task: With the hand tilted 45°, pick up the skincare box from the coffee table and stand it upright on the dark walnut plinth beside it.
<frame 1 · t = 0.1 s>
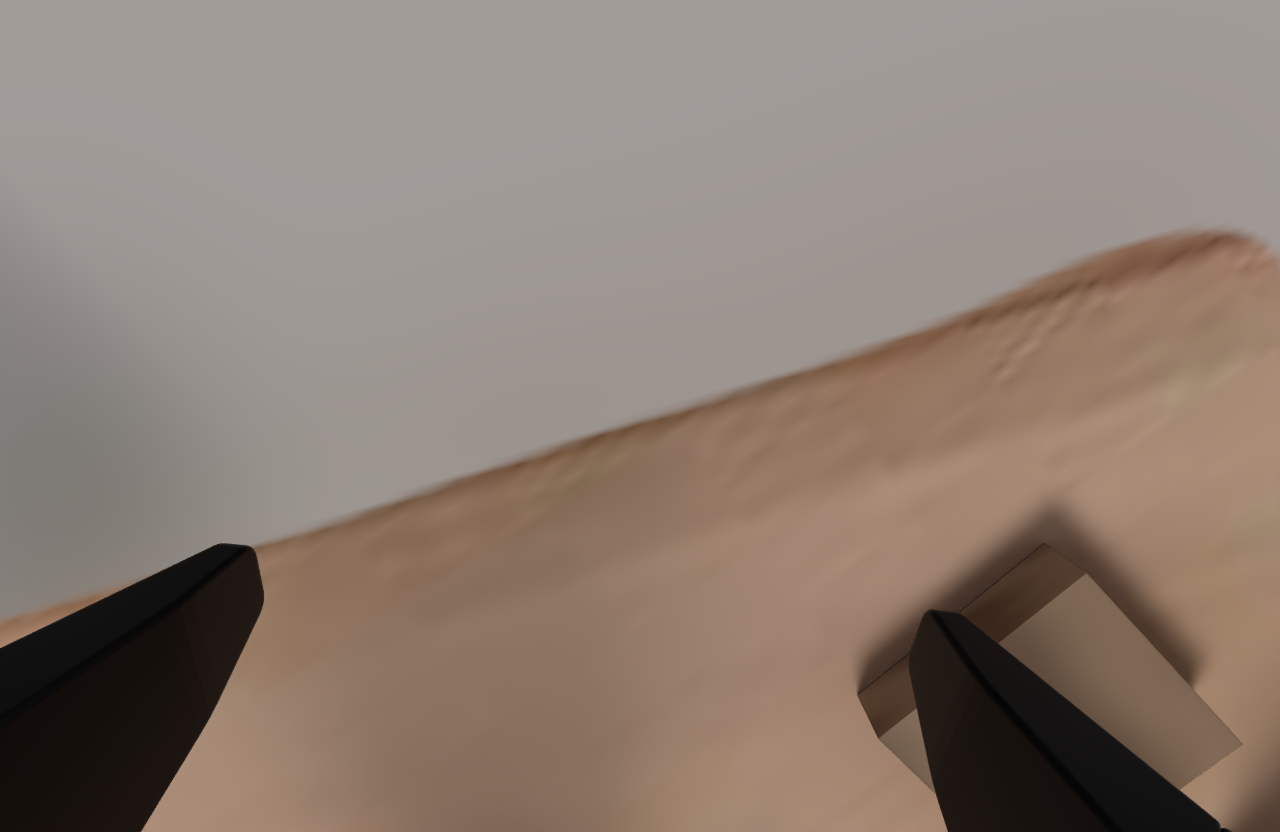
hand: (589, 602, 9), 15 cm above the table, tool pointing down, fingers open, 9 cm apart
walnut plinth: (1022, 697, 27), on the table
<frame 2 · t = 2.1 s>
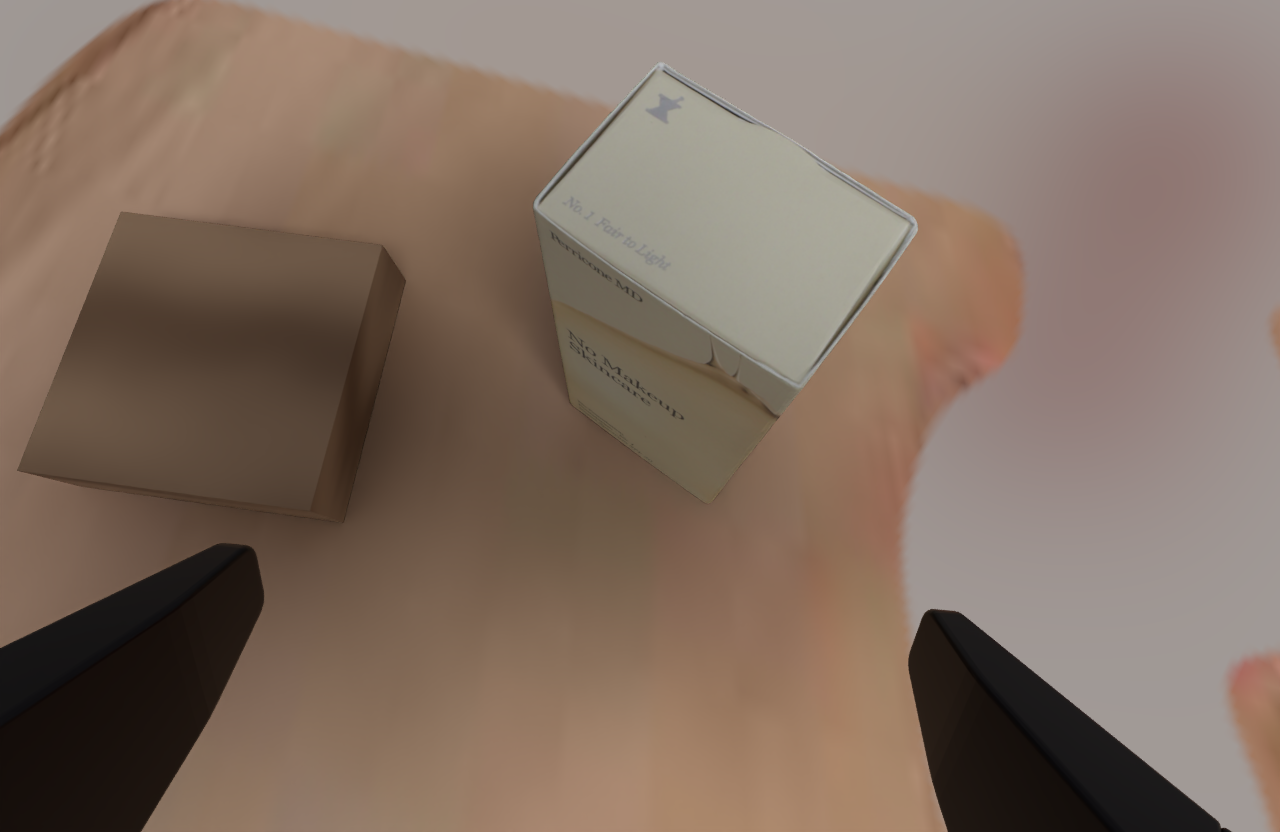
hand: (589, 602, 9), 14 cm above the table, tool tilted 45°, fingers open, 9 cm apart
walnut plinth: (250, 378, 24), on the table
skincare box: (676, 409, 25), on the table
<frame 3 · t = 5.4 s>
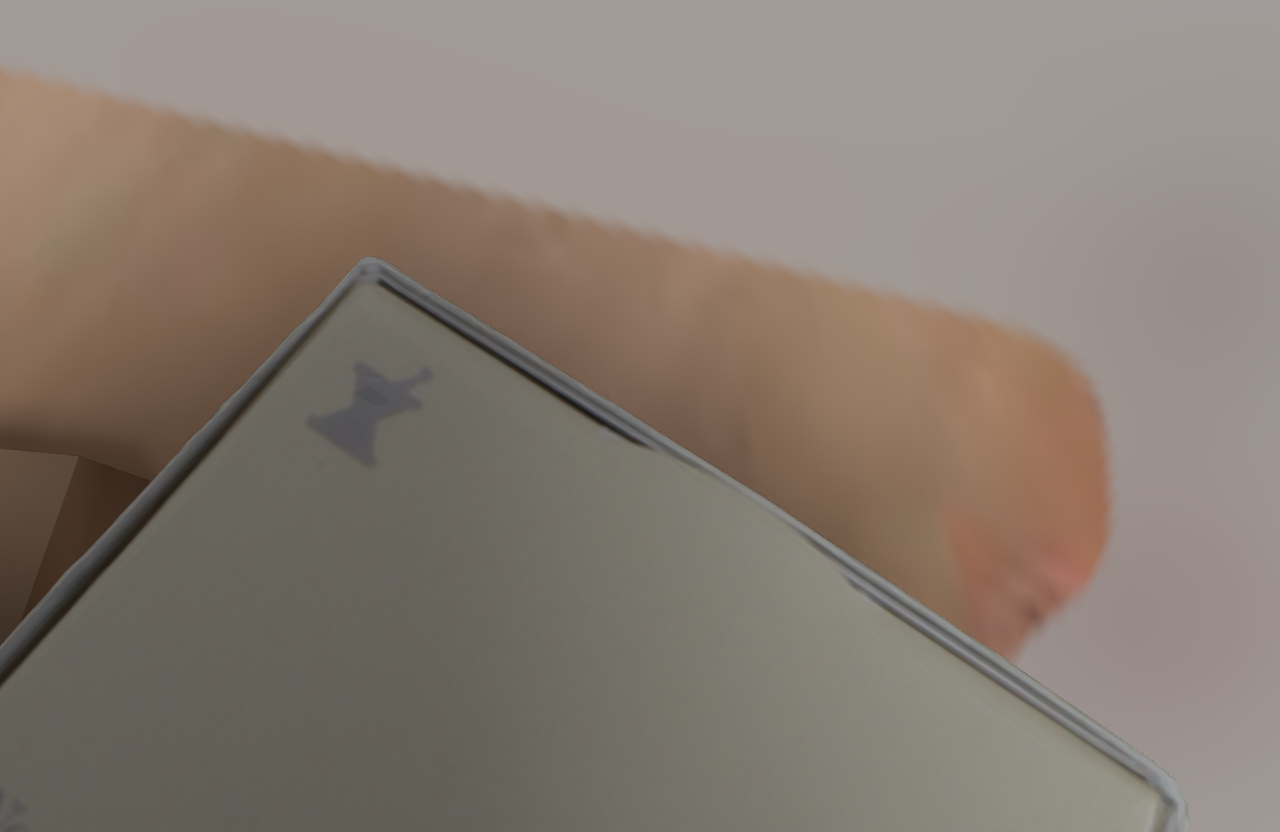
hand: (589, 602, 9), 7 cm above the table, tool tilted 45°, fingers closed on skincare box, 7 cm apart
skincare box: (591, 684, 15), on the table, touching gripper
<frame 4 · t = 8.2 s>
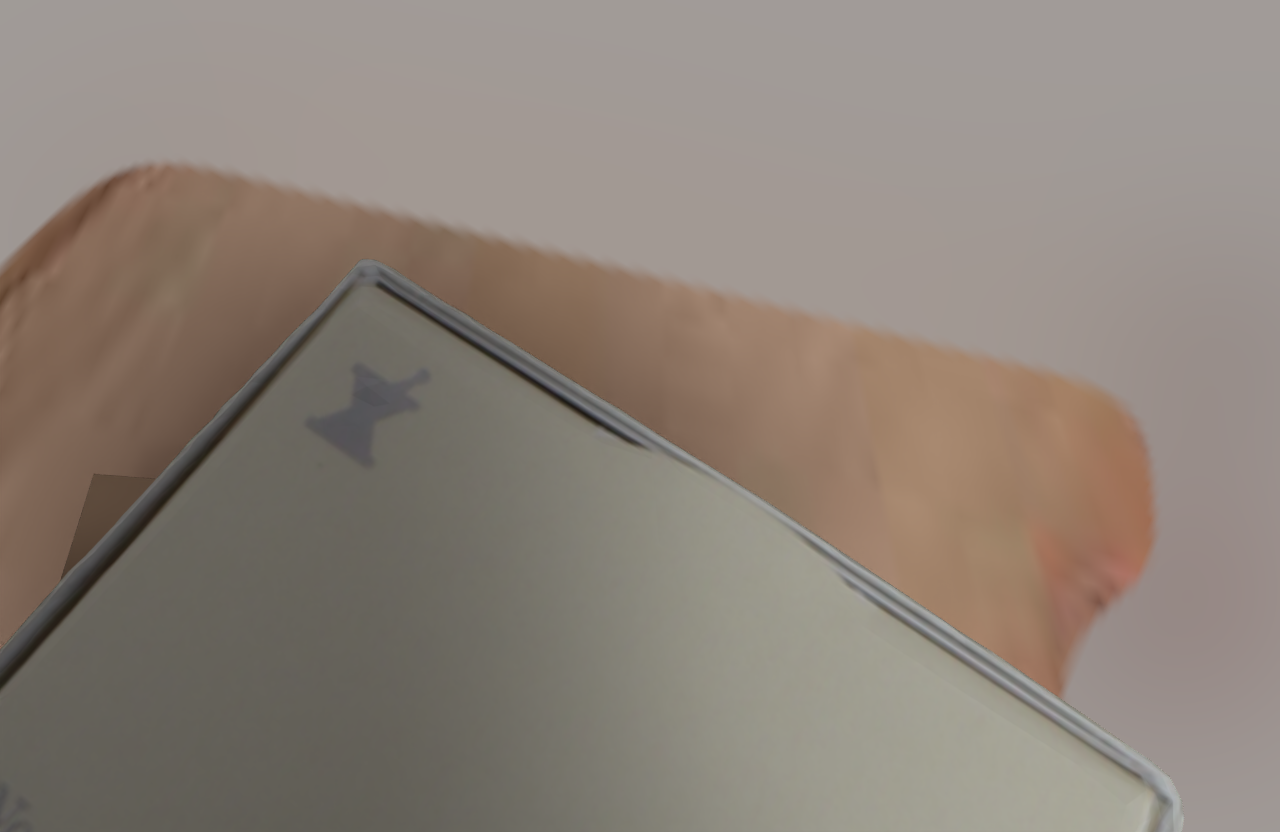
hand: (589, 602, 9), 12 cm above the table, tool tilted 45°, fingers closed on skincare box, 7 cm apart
walnut plinth: (263, 655, 20), on the table
skincare box: (594, 683, 15), point 5 cm above the table, touching gripper
when the fingers open (10 cm above the table, at t = 10.8 s): skincare box stays where it is, resting on walnut plinth.
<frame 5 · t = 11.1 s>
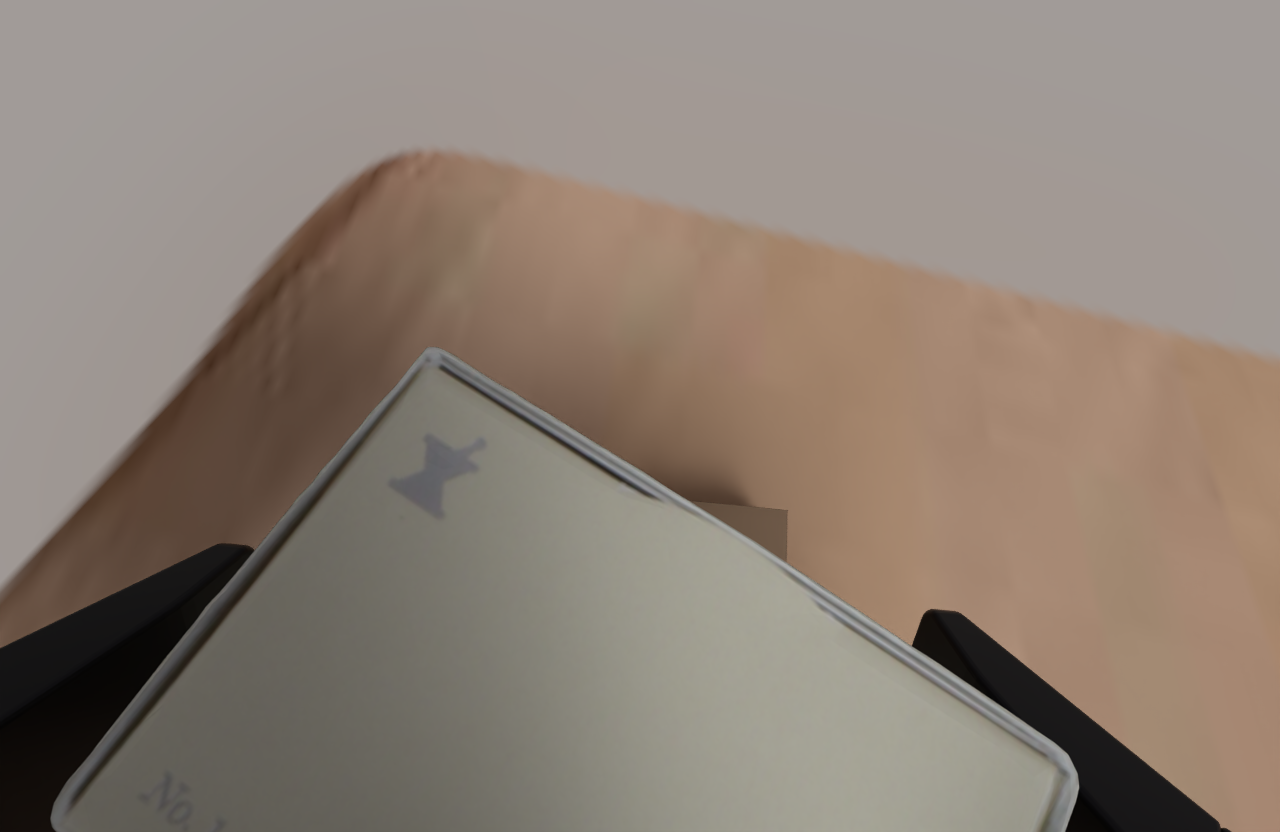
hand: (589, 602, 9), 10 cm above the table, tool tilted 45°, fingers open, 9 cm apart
walnut plinth: (595, 675, 19), on the table
skincare box: (597, 690, 16), point 2 cm above the table, touching walnut plinth
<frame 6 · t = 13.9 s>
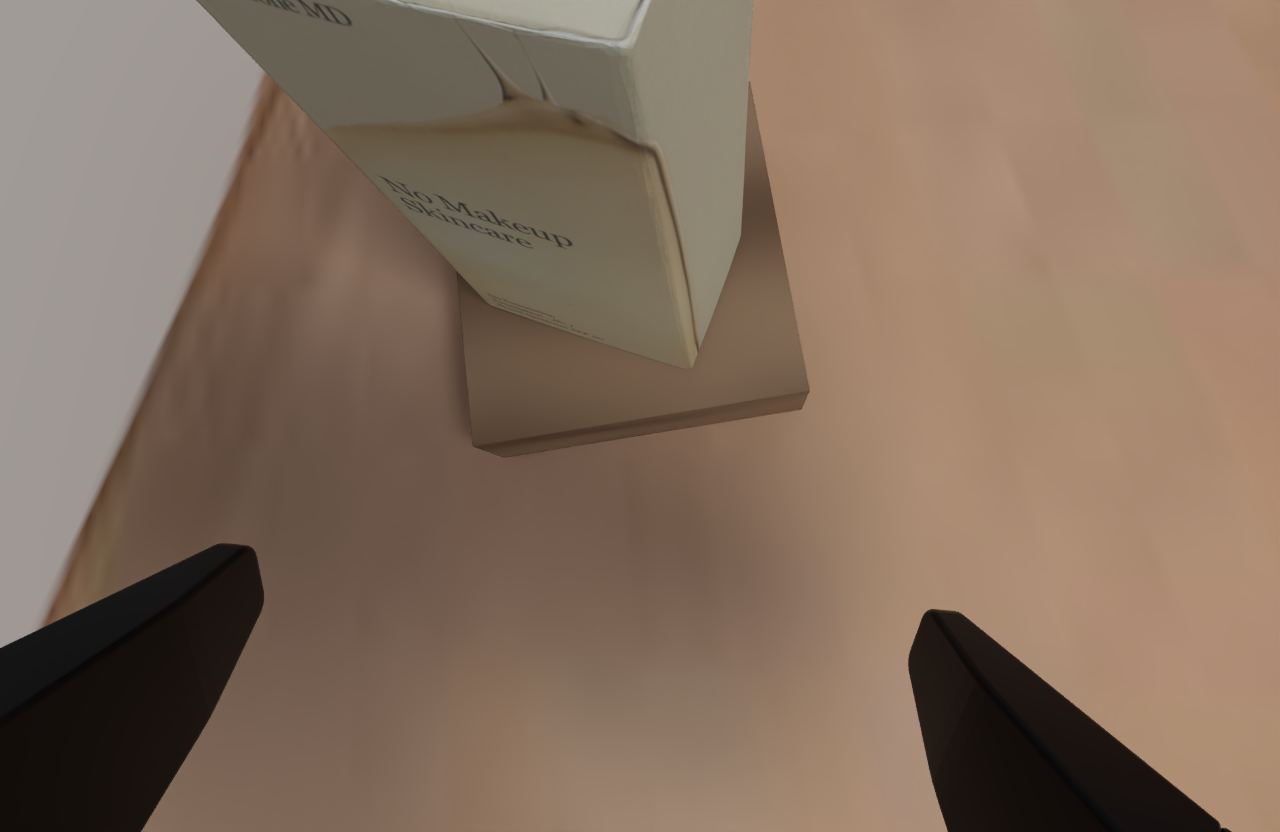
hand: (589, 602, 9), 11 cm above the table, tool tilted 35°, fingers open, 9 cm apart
walnut plinth: (628, 292, 22), on the table
skincare box: (620, 269, 19), point 2 cm above the table, touching walnut plinth
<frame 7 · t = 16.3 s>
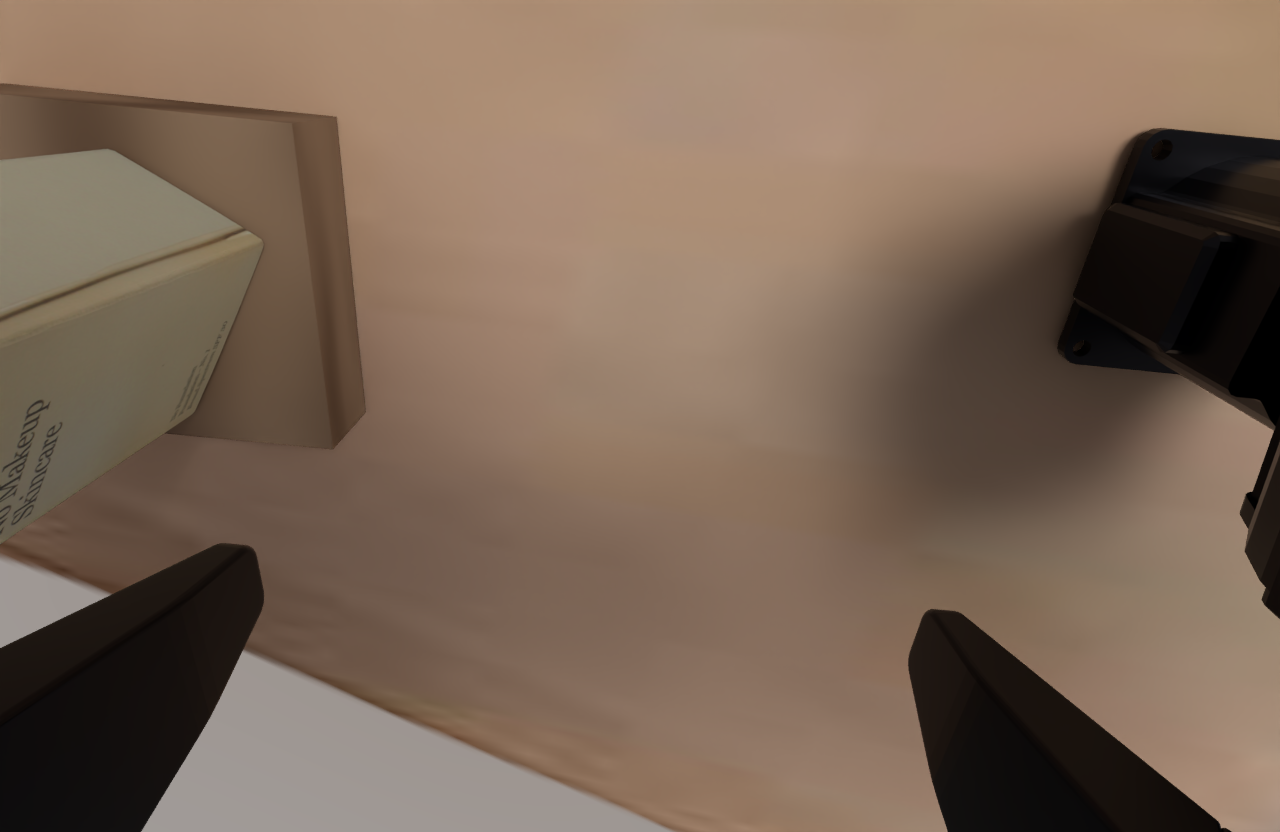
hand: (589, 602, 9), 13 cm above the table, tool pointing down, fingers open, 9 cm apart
walnut plinth: (202, 264, 21), on the table
skincare box: (158, 282, 19), point 2 cm above the table, touching walnut plinth
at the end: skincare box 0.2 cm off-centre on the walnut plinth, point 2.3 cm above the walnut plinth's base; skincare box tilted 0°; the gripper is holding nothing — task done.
